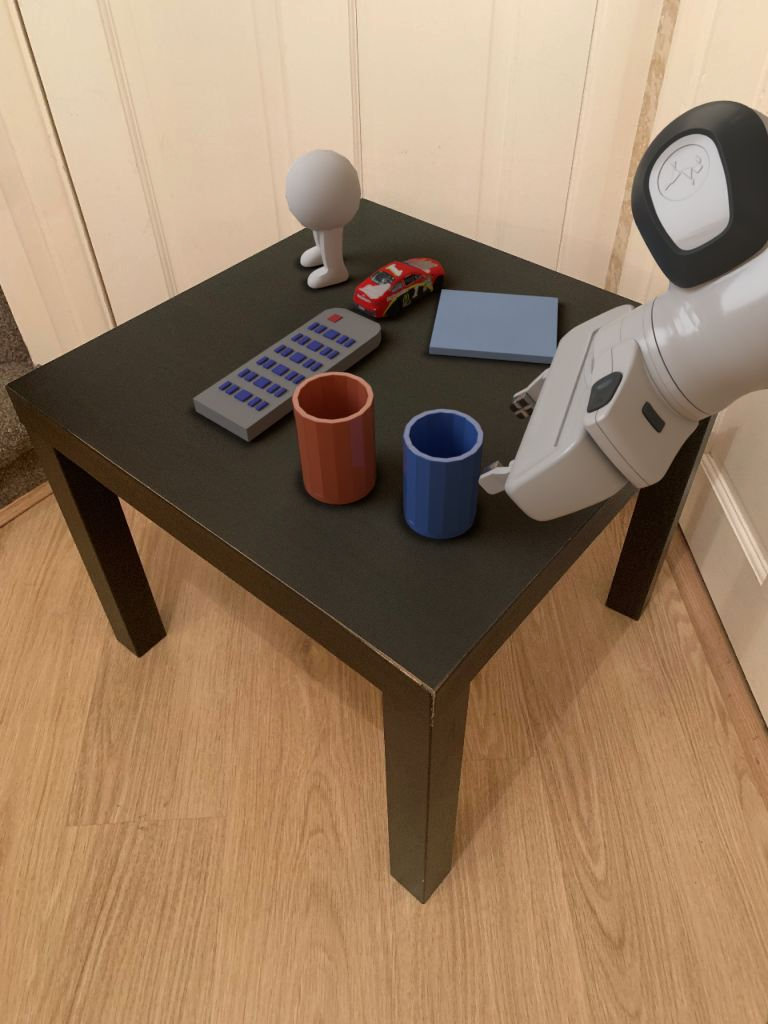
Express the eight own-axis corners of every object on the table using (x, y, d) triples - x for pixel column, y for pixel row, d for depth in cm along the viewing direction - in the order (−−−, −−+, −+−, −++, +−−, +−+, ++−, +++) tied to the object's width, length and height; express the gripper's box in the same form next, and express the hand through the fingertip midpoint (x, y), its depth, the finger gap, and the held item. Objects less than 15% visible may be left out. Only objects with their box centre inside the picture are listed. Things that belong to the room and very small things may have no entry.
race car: (422, 268, 102) (423, 239, 99) (453, 283, 99) (454, 254, 96) (346, 308, 96) (344, 278, 93) (376, 326, 93) (376, 296, 90)
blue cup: (478, 490, 75) (486, 412, 68) (472, 543, 70) (479, 465, 63) (409, 483, 75) (409, 405, 68) (398, 534, 71) (398, 457, 64)
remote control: (195, 412, 83) (191, 396, 82) (337, 315, 95) (336, 299, 93) (248, 443, 80) (245, 427, 78) (389, 338, 91) (388, 322, 90)
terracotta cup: (381, 457, 78) (379, 375, 71) (369, 508, 73) (365, 426, 66) (312, 450, 79) (303, 368, 71) (295, 500, 74) (283, 418, 67)
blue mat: (557, 304, 96) (558, 297, 95) (555, 364, 88) (556, 357, 87) (441, 296, 97) (441, 289, 97) (429, 354, 89) (429, 346, 89)
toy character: (288, 258, 104) (275, 141, 93) (355, 248, 106) (350, 132, 95) (300, 294, 98) (287, 174, 87) (371, 283, 100) (367, 164, 89)
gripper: (647, 263, 61) (509, 344, 70) (597, 432, 48) (438, 502, 57) (691, 323, 63) (552, 394, 72) (655, 500, 50) (492, 557, 60)
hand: (501, 443), depth 65 cm, fingers open, 8 cm apart
